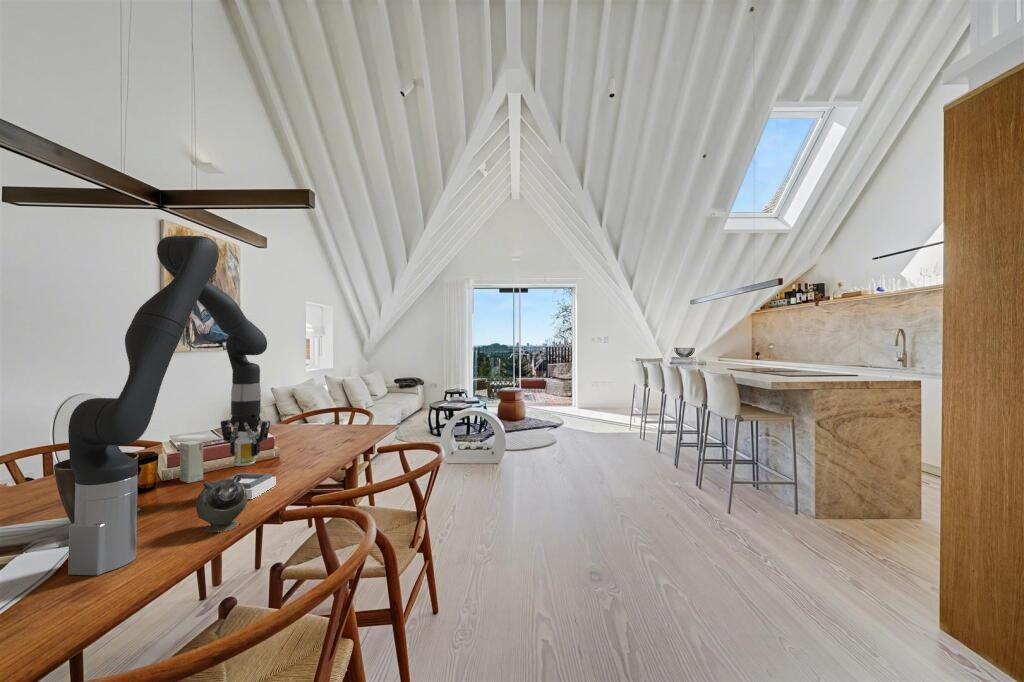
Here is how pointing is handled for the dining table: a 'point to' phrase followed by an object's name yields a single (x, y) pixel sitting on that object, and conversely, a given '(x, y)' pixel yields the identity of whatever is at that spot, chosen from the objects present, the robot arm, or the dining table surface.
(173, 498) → the dining table surface
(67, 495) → the plant pot
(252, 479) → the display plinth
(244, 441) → the supplement bottle
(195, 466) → the skincare box
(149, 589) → the dining table surface
